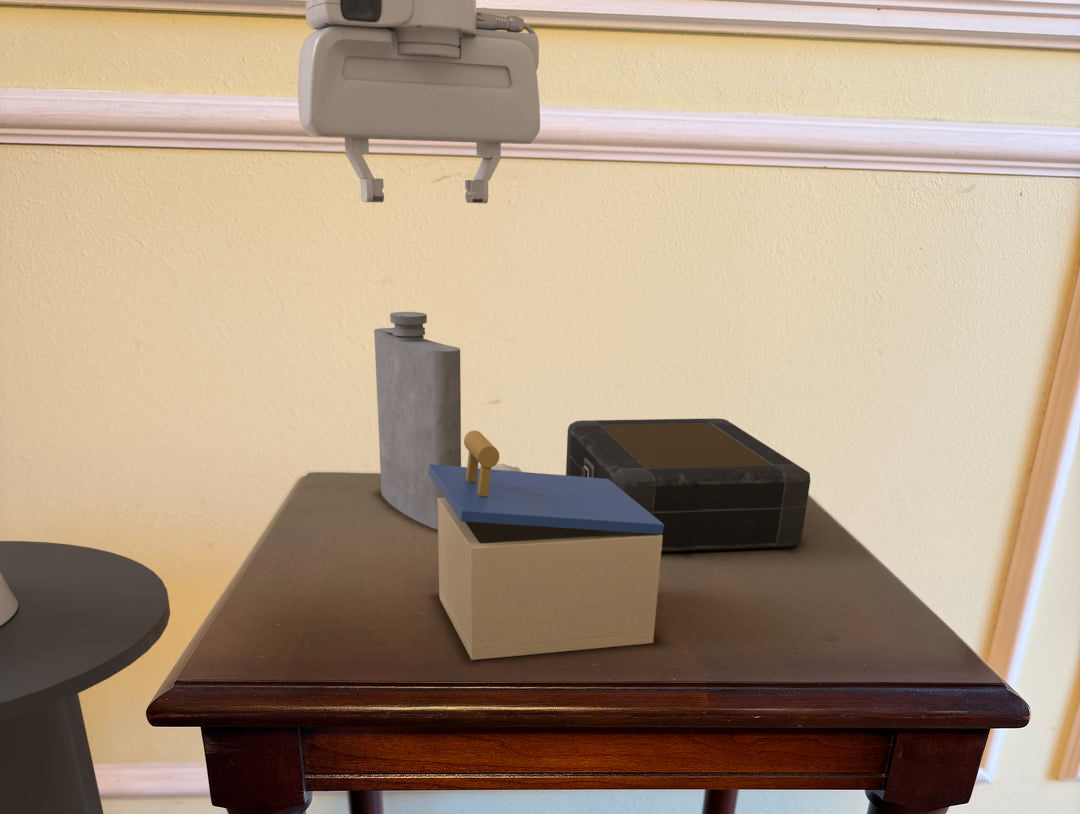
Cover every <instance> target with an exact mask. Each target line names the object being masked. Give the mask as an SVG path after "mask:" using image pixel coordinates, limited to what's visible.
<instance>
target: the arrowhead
mask: <svg viewBox="0 0 1080 814" xmlns="http://www.w3.org/2000/svg"><path fill="white" fill-rule="evenodd" d="M480 466H481V464H478V468H480ZM491 469H493V470H505V471H517V472H523V471H522V470H521V469H520V467H518V466H511V465H508V464H506V463H497V464H496V465H495V466H493V467H491Z"/></svg>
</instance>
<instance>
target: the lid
mask: <svg viewBox="0 0 1080 814" xmlns="http://www.w3.org/2000/svg"><path fill="white" fill-rule="evenodd" d="M463 444H464V447H465V448H466V449H467V450H468V455H467V464H466V466H461V467H456V466H444V465H432V464H429V470H428V474H429V475H430V477H431V478H432V480H433V481H434V483H435V484H436V486H437V487H438V489H439V490H440V491H441V493H442V494H443V496H444V497H445V499H446V500H447V502H448V503H449V505H450V506H451V507H452V509H453V510H454V512H455V513H456V515H457V516H458V518H459V519H460V521H462V522H477V523H493V524H508V525H523V526H539V527H554V528H570V529H585V530H600V531H616V532H631V533H646V534H662V533H663V528H664V524H663V523H662V522H660V521H659V520H658V519H657V518H655V517H654V516H653V515H652V514H651V513H649V512H648V511H647V510H646V509H644V508H643V507H642V506H641V505H639V504H638V503H637V502H636V501H635V500H633V499H632V498H631V497H630V496H628V495H627V494H626V493H625V492H624V491H622V490H621V489H620V488H619V487H617V486H616V485H615V484H614V483H612V482H611V481H610V480H609V479H602V478H590V477H578V476H566V474H554V473H553V474H552V473H543V472H542V473H541V472H540V473H539V472H529V471H522V472H517V471H505V470H493V469H491V467H493V466H495V465H496V464H499V460H500V452H499V450H498V449H497V448H496V446H494V445H493V444H492V442H491V441H490V440H489V439H488V438H487V437H485V435H484V434H483V433H481V432H480V431H479V430H470V431H468V432H467V433H466V434H465V436H464V439H463ZM478 465H481V466H480V468H478Z"/></svg>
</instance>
